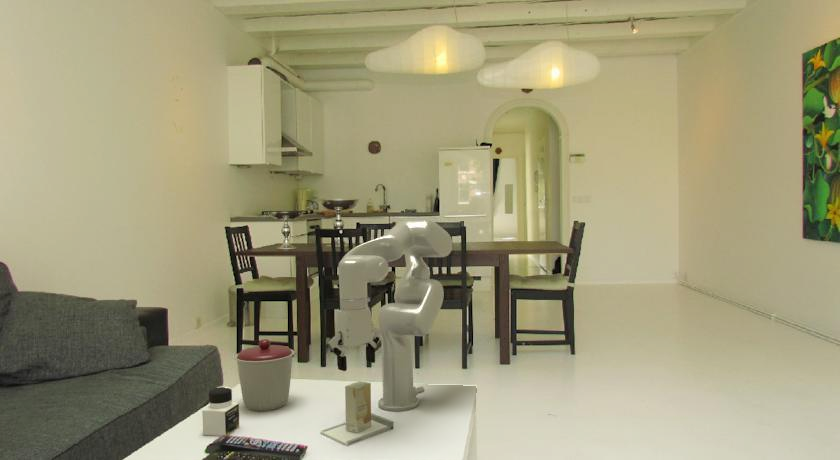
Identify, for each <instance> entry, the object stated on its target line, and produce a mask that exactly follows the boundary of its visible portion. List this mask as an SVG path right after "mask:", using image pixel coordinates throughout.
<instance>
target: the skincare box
mask: <svg viewBox="0 0 840 460" xmlns="http://www.w3.org/2000/svg"><path fill="white" fill-rule="evenodd" d="M344 386H345V387H344V388H345V389H344V390H345V392H344V393H345V394H344V395H345V396H344V397H345V400H344V401H345V403H344V404H345V423H346V430H348V431H351V432H355V433H358V432H361V431H363V430H365V429H367V428H369V427H371V413H372V390H371V382H367V381H362V380H361V381H360V380H359V381H356V382H352V383H351V384H347V385H344Z"/></svg>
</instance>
